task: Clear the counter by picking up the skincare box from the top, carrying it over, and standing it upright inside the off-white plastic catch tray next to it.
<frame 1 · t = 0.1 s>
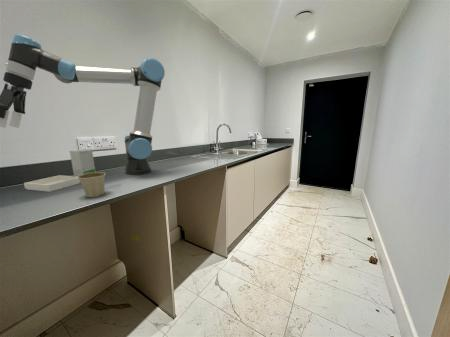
hand: (7, 126, 74), 28 cm above the countertop, tool tilted 20°, fingers open, 13 cm apart
flower pot: (95, 195, 75), on the countertop
skincare box: (85, 177, 103), on the countertop
catch tray: (55, 185, 87), on the countertop
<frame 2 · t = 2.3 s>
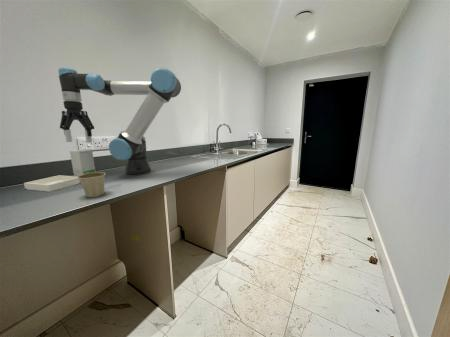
hand: (79, 142, 98), 20 cm above the countertop, tool pointing down, fingers open, 13 cm apart
nothing on the countertop moved.
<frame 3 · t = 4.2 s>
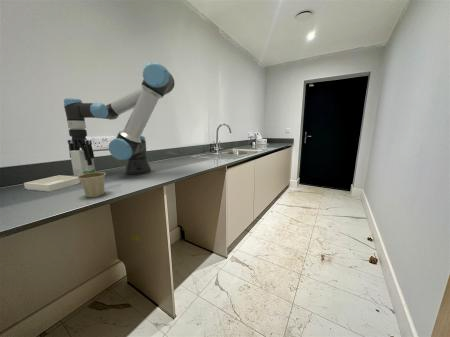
hand: (84, 170, 102), 4 cm above the countertop, tool pointing down, fingers closed on skincare box, 7 cm apart
skincare box: (85, 177, 103), on the countertop, touching gripper
everything else where it was.
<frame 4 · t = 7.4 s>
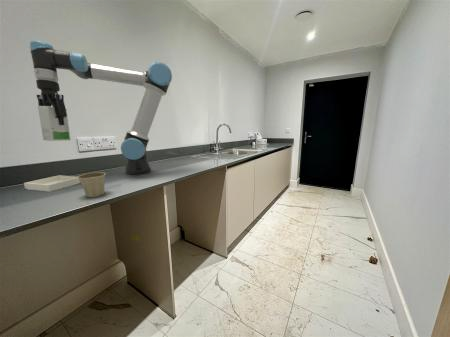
hand: (56, 131, 87), 26 cm above the countertop, tool pointing down, fingers closed on skincare box, 6 cm apart
skincare box: (57, 140, 88), point 21 cm above the countertop, touching gripper
everything else where it was.
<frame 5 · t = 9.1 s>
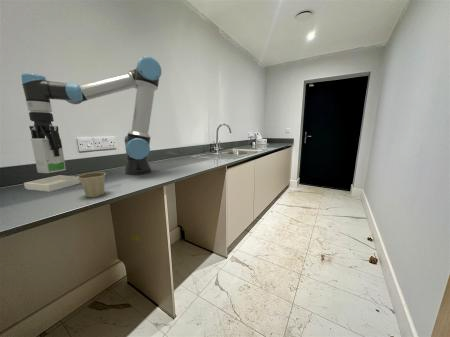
hand: (50, 163, 85), 11 cm above the countertop, tool pointing down, fingers closed on skincare box, 6 cm apart
skincare box: (52, 171, 86), point 7 cm above the countertop, touching gripper
everything else where it was.
when the fingers open (6 cm above the countertop, at t = 10.6 s): skincare box drops 1 cm, resting on catch tray.
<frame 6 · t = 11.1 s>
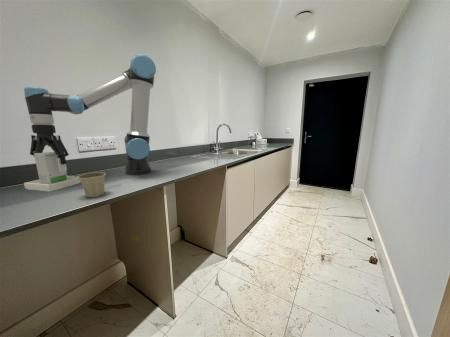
hand: (52, 170, 86), 8 cm above the countertop, tool pointing down, fingers open, 13 cm apart
skincare box: (55, 184, 87), resting on catch tray
everything else where it was.
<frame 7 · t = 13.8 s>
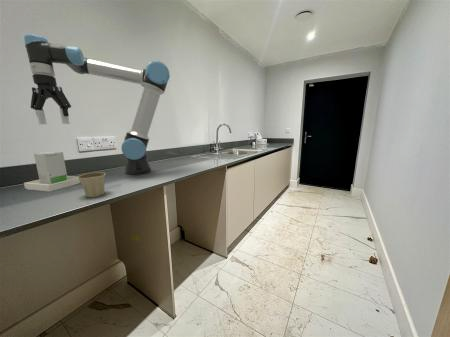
hand: (54, 124, 86), 29 cm above the countertop, tool pointing down, fingers open, 13 cm apart
nothing on the countertop moved.
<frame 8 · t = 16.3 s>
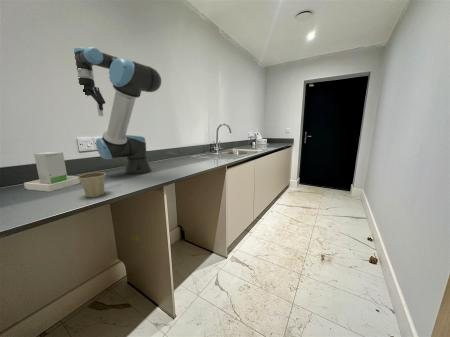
hand: (91, 116, 110), 35 cm above the countertop, tool pointing down, fingers open, 13 cm apart
nothing on the countertop moved.
at the end: skincare box inside the target area on the catch tray (0.2 cm from its centre), point 0.4 cm above the catch tray's base; skincare box tilted 0°; the gripper is holding nothing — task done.
